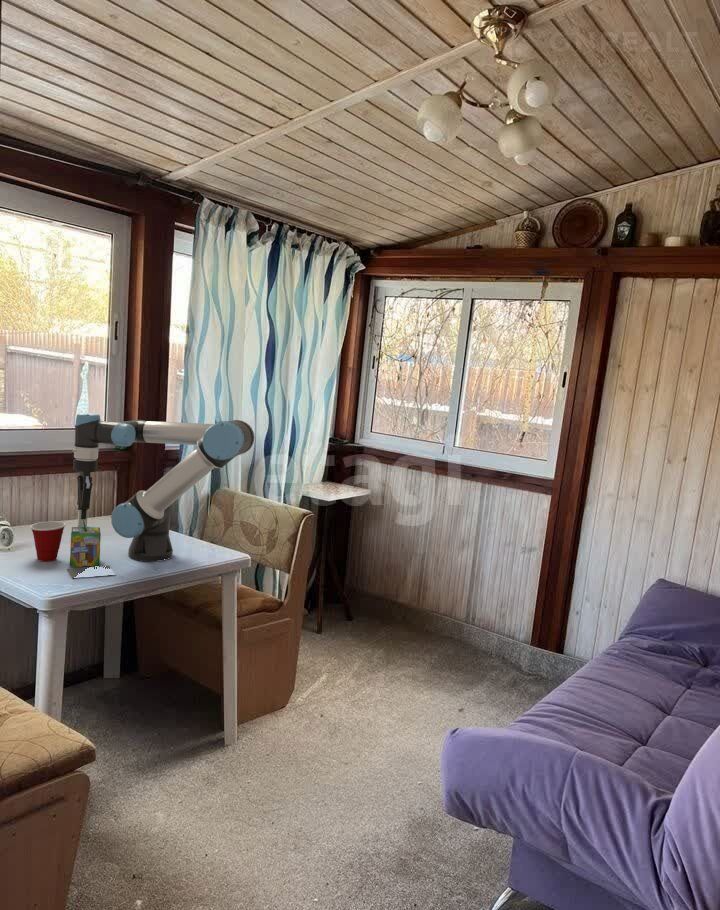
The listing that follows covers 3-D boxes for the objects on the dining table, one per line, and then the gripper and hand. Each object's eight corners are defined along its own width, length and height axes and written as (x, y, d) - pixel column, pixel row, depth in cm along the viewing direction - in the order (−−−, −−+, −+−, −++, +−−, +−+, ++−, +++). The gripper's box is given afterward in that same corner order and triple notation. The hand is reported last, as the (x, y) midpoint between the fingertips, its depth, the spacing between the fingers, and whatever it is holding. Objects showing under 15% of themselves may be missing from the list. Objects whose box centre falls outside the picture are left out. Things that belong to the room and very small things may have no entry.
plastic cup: (29, 554, 231) (31, 519, 230) (64, 554, 235) (66, 520, 234) (26, 564, 221) (28, 527, 220) (63, 563, 225) (65, 528, 224)
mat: (108, 566, 227) (108, 565, 227) (116, 575, 219) (116, 574, 218) (66, 569, 220) (66, 568, 220) (72, 579, 211) (72, 577, 211)
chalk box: (99, 567, 225) (102, 523, 224) (69, 567, 222) (71, 523, 220) (99, 559, 234) (101, 516, 232) (69, 559, 230) (72, 516, 229)
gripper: (70, 455, 233) (66, 523, 236) (77, 462, 222) (73, 533, 225) (93, 456, 237) (89, 522, 240) (101, 462, 226) (97, 532, 229)
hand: (82, 527), depth 232 cm, fingers closed
